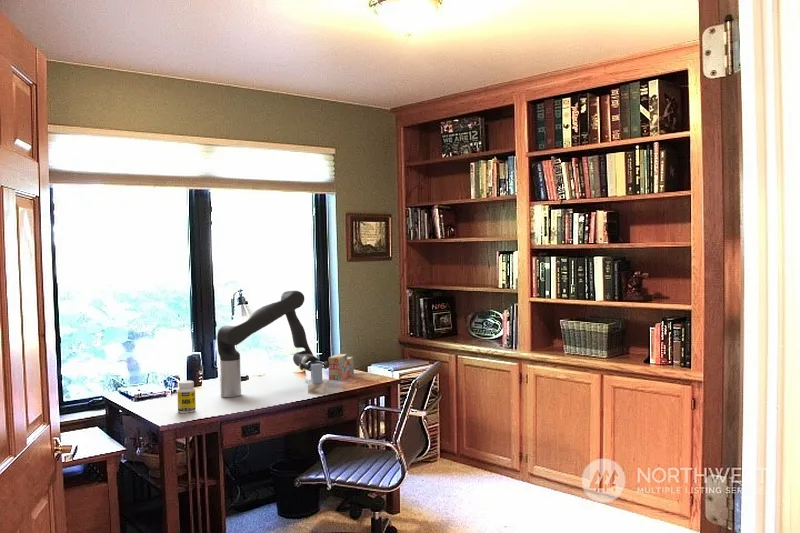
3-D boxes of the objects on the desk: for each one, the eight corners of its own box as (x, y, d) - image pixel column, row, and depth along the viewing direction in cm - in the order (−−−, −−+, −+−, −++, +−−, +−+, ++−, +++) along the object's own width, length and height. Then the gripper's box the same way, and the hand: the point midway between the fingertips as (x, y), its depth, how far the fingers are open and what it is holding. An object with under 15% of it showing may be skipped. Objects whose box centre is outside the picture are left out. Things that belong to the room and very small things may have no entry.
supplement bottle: (181, 414, 276) (180, 384, 276) (175, 411, 282) (174, 381, 281) (198, 411, 280) (197, 381, 280) (192, 408, 286) (191, 379, 286)
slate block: (313, 384, 312) (312, 365, 312) (311, 382, 316) (310, 364, 316) (322, 383, 314) (321, 364, 314) (320, 381, 318) (319, 363, 318)
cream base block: (308, 394, 311) (307, 384, 311) (310, 390, 319) (310, 381, 319) (323, 393, 311) (323, 384, 311) (326, 390, 319) (325, 381, 319)
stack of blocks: (343, 373, 363) (342, 351, 363) (354, 373, 361) (353, 351, 361) (328, 380, 343) (328, 357, 342) (339, 381, 341) (339, 357, 341)
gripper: (295, 356, 326) (302, 361, 310) (323, 354, 331) (331, 358, 315) (296, 371, 326) (303, 376, 311) (324, 368, 331) (332, 374, 316)
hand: (317, 367), depth 313 cm, fingers open, 8 cm apart
